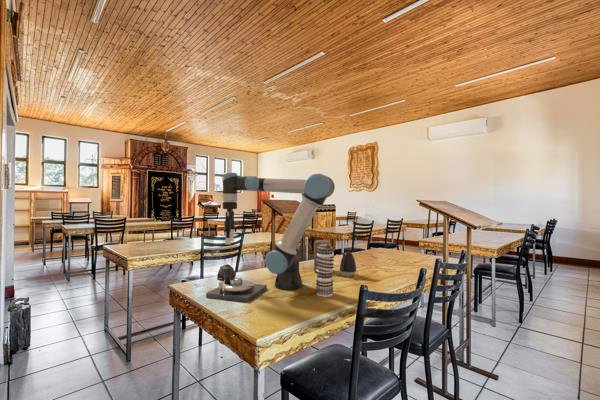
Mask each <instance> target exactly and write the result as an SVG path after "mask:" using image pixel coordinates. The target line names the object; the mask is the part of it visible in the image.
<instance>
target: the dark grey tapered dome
mask: <svg viewBox="0 0 600 400" xmlns="http://www.w3.org/2000/svg"><path fill="white" fill-rule="evenodd" d="M340 255H342V258H341V260H340V263H339V271H340V274H341V275H342V276H343V277H345V278H352V277H353V276H355V274H356V272H357V265H356V264H357V263H356V259H355V257H354V254H353V253H352V252H351V251H345V252H342V251H340Z"/></svg>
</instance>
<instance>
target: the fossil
mask: <svg viewBox="0 0 600 400" xmlns="http://www.w3.org/2000/svg"><path fill="white" fill-rule="evenodd" d="M227 267H229V268H231V281H233V280H234V278H236V275H237V272H236V271H235V269H234V267H233V266H232V265H231V264H228V263H227V264H223V265H221V266H220V267H219V270H218V271H217V275H216V276H217V277H216V278H217V280H221V279H224V268H227Z"/></svg>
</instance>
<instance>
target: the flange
mask: <svg viewBox="0 0 600 400" xmlns="http://www.w3.org/2000/svg"><path fill="white" fill-rule="evenodd" d="M222 282H223V290H224V291H228V292H243V291H248V290H251V289H253V288H254V284H255V283H254V282H253V281H250V280H244V279H243V278H242V277H235V278H234V279H232V280H231V268H229V267H227V268H224V278H223V281H222Z"/></svg>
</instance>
